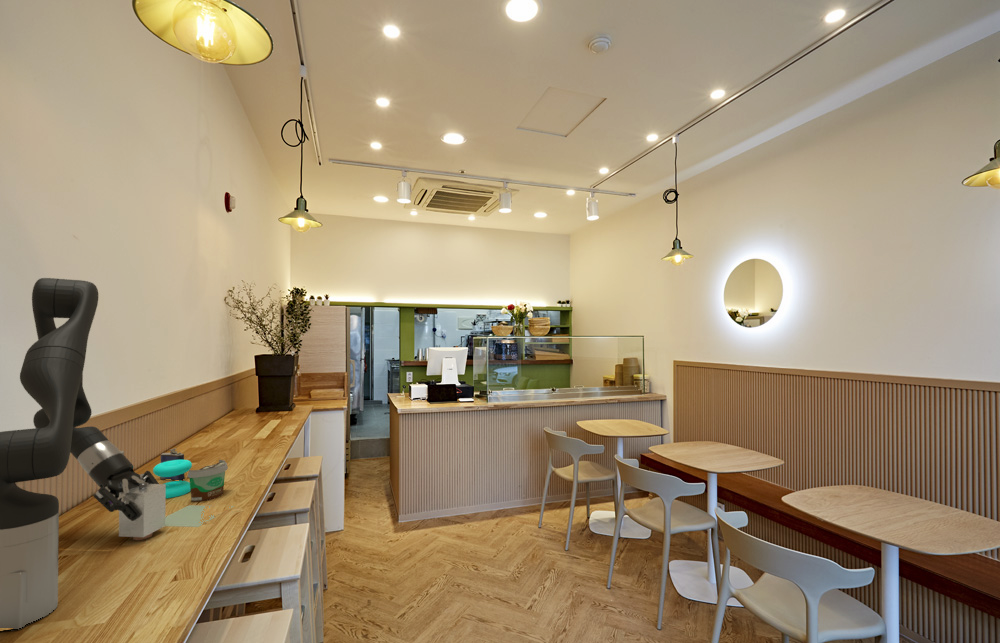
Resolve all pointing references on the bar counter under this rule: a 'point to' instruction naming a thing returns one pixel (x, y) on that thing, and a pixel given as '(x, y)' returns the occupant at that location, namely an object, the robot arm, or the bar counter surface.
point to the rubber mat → (187, 517)
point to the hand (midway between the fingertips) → (149, 512)
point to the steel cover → (144, 510)
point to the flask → (168, 457)
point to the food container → (207, 482)
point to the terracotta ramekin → (142, 537)
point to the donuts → (171, 470)
